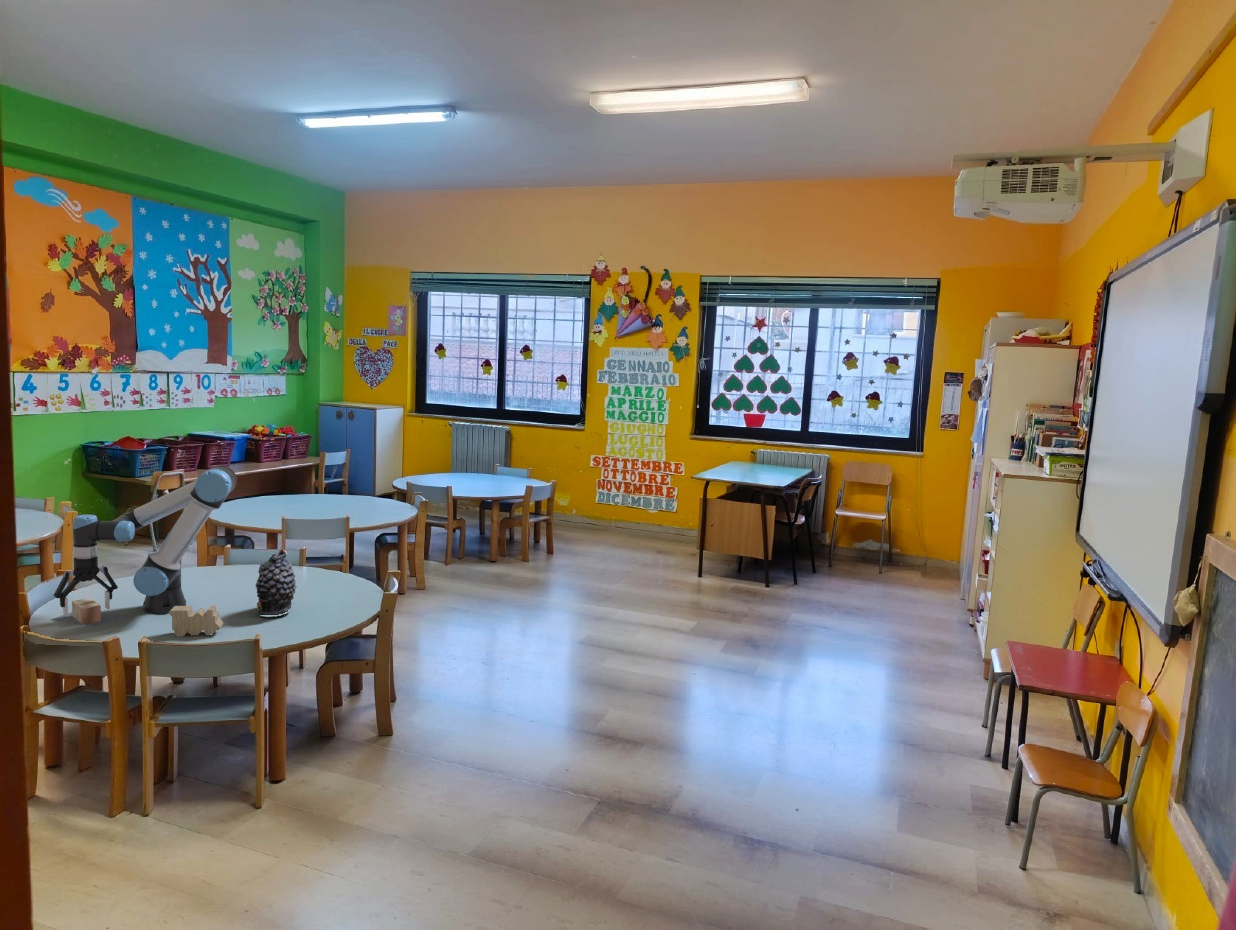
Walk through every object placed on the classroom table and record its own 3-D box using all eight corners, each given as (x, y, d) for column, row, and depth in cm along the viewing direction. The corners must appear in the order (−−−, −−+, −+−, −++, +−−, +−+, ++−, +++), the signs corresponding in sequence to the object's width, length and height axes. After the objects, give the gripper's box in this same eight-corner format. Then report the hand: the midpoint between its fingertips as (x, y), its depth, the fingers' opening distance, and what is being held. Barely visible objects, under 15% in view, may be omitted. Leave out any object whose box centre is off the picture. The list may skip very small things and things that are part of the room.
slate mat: (126, 616, 311) (126, 615, 311) (96, 627, 297) (96, 626, 297) (81, 609, 314) (81, 608, 314) (50, 620, 301) (50, 619, 301)
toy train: (219, 636, 297) (219, 609, 296) (168, 636, 293) (168, 610, 292) (223, 631, 302) (223, 605, 301) (173, 631, 298) (173, 605, 297)
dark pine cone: (260, 604, 335) (260, 545, 332) (298, 604, 339) (299, 545, 336) (250, 620, 315) (251, 558, 312) (291, 620, 319) (292, 558, 316)
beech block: (90, 598, 310) (100, 605, 302) (90, 613, 310) (100, 621, 303) (71, 600, 305) (82, 608, 297) (72, 616, 306) (82, 624, 298)
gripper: (119, 549, 312) (120, 602, 315) (42, 559, 294) (44, 615, 296) (126, 553, 308) (127, 607, 310) (49, 563, 289) (50, 620, 291)
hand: (86, 611), depth 303 cm, fingers open, 13 cm apart
